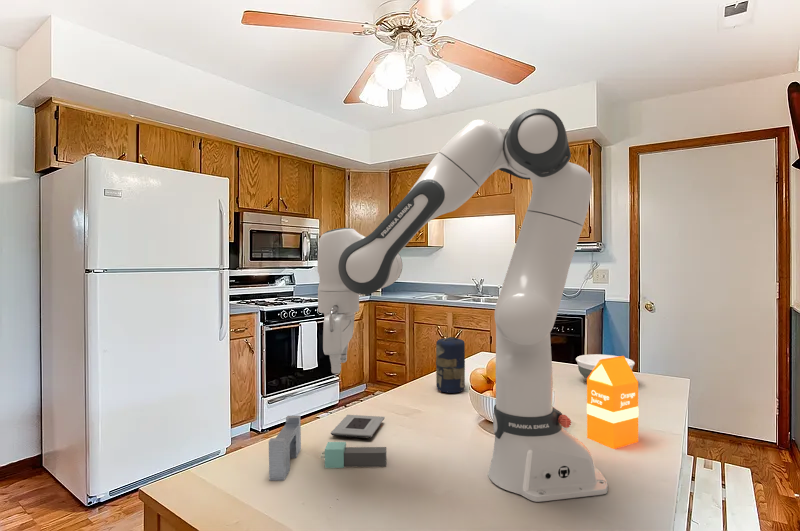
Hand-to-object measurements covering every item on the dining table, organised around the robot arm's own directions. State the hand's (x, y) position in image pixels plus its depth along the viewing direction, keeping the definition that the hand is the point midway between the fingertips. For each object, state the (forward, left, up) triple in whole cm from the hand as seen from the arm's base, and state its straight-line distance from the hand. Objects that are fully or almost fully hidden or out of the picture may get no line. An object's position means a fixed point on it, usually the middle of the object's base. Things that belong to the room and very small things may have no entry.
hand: (339, 367), depth 101 cm
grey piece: (+12, 0, -21) cm, 24 cm away
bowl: (-83, -61, -21) cm, 105 cm away
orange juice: (-64, -12, -21) cm, 69 cm away
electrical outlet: (-2, -19, -22) cm, 29 cm away
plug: (-3, 0, -21) cm, 21 cm away
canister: (-29, -54, -21) cm, 65 cm away
